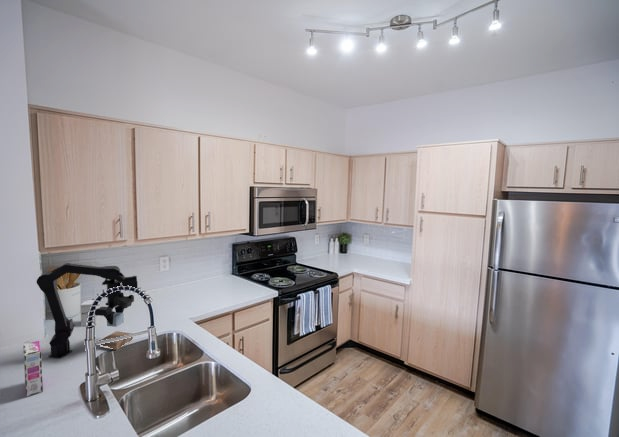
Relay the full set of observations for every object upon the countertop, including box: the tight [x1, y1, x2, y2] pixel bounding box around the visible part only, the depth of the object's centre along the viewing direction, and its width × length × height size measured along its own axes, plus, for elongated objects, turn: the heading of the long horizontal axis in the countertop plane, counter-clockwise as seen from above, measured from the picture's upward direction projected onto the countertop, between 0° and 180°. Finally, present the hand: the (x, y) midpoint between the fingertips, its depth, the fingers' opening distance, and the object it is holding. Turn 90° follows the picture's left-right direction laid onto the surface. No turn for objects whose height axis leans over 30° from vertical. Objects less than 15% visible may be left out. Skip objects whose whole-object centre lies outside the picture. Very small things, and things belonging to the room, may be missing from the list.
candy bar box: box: [23, 340, 44, 398], centre depth 117 cm, size 11×5×16 cm, turn 44°
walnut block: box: [98, 330, 134, 351], centre depth 152 cm, size 10×10×4 cm
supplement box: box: [80, 299, 101, 327], centre depth 175 cm, size 7×7×13 cm
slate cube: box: [106, 311, 125, 328], centre depth 151 cm, size 5×5×5 cm
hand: (115, 322), depth 152 cm, fingers closed on slate cube, 5 cm apart
